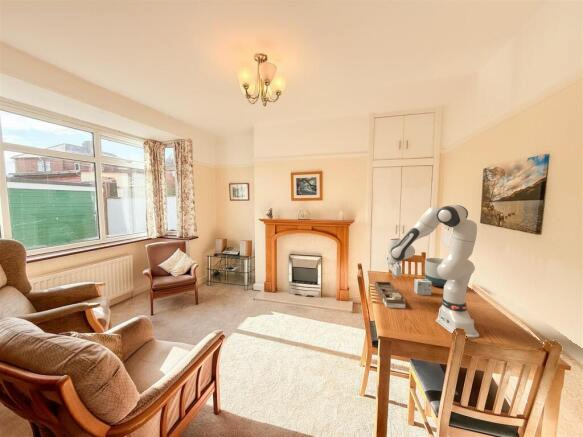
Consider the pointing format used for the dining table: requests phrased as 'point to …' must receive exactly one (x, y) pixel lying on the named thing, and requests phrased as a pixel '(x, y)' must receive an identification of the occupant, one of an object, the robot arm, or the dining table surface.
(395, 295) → the birch block
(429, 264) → the planter
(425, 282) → the light bulb box
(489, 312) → the dining table surface
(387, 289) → the trap channel
